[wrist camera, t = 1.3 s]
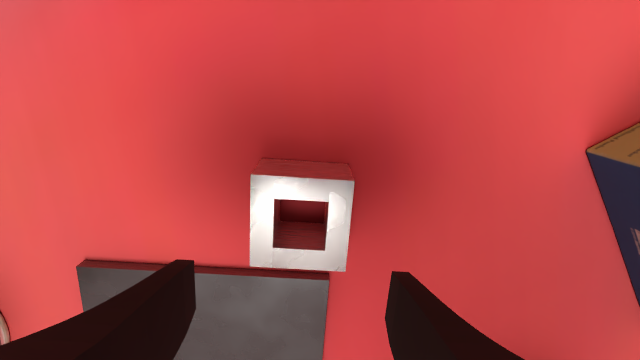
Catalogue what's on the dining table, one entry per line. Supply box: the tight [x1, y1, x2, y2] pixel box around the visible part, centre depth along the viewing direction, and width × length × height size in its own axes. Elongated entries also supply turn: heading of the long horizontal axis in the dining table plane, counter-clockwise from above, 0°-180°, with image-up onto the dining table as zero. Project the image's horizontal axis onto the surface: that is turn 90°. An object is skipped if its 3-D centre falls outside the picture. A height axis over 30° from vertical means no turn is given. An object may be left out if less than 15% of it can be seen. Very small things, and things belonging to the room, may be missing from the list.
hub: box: [250, 158, 355, 272], centre depth 19 cm, size 5×5×4 cm
